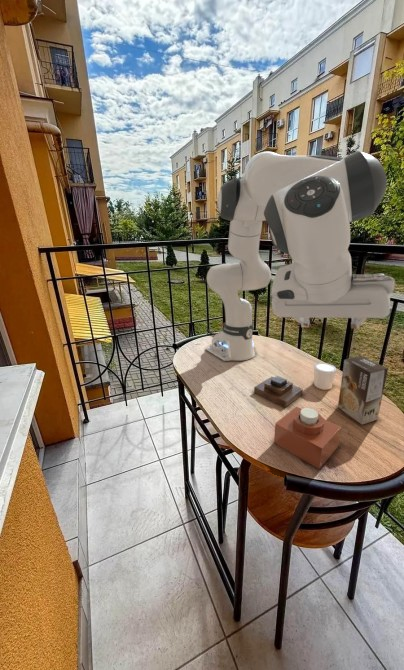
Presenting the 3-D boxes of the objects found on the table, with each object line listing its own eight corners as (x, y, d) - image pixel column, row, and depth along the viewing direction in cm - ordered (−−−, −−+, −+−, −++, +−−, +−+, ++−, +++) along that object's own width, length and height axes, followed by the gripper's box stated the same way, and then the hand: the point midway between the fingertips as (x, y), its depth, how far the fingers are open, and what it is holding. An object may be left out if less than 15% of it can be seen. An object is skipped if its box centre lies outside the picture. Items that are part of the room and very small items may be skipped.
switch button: (270, 384, 91) (270, 379, 91) (276, 380, 94) (277, 375, 93) (280, 388, 89) (280, 383, 88) (286, 384, 91) (286, 379, 91)
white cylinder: (335, 391, 92) (338, 372, 90) (313, 389, 94) (316, 371, 91) (331, 380, 99) (333, 363, 96) (310, 379, 100) (312, 362, 98)
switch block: (254, 392, 94) (254, 382, 92) (271, 381, 100) (271, 371, 98) (285, 407, 85) (286, 396, 84) (302, 394, 91) (303, 383, 90)
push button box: (273, 442, 72) (275, 416, 69) (294, 424, 78) (296, 400, 75) (319, 469, 63) (323, 441, 61) (338, 446, 70) (342, 420, 67)
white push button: (296, 419, 68) (297, 412, 67) (305, 412, 71) (305, 405, 70) (312, 427, 65) (313, 420, 65) (320, 419, 68) (321, 412, 67)
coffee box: (379, 419, 78) (390, 368, 73) (361, 425, 76) (371, 373, 71) (352, 402, 87) (361, 355, 81) (336, 406, 85) (343, 359, 79)
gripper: (396, 259, 44) (390, 313, 54) (269, 269, 55) (284, 313, 65) (396, 288, 41) (389, 340, 51) (262, 293, 52) (278, 335, 62)
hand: (329, 325), depth 58 cm, fingers open, 8 cm apart
